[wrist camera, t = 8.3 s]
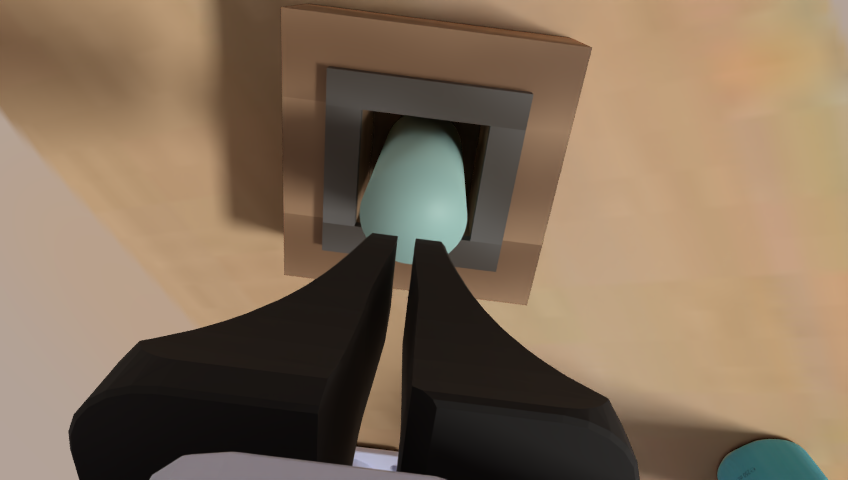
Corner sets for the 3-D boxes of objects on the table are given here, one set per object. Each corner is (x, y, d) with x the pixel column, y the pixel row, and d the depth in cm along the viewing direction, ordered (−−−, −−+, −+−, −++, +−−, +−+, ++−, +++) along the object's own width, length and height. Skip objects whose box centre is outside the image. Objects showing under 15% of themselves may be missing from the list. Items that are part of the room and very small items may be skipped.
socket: (517, 266, 23) (527, 310, 20) (304, 239, 23) (281, 280, 20) (570, 37, 19) (595, 48, 16) (306, 3, 19) (276, 7, 16)
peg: (453, 190, 22) (454, 272, 16) (380, 177, 22) (353, 254, 16) (469, 118, 21) (478, 177, 14) (392, 103, 20) (367, 156, 14)
